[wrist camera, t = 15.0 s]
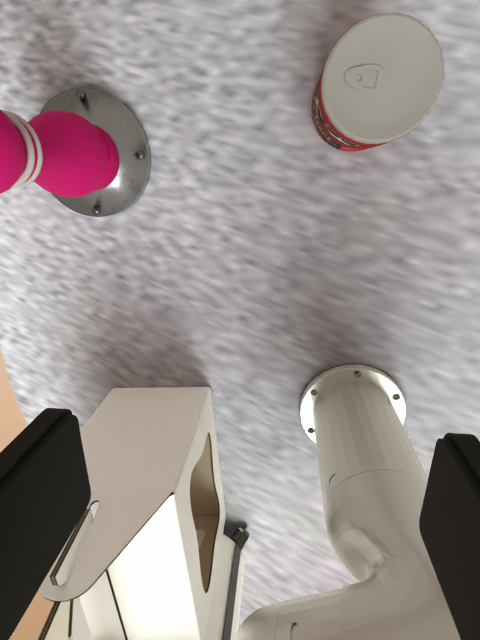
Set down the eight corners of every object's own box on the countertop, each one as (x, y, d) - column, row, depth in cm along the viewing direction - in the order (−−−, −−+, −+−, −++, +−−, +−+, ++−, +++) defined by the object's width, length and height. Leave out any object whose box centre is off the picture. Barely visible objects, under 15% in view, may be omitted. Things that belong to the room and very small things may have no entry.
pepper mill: (84, 208, 40) (-85, 235, 22) (42, 143, 38) (-183, 113, 20) (138, 172, 38) (3, 169, 20) (96, 102, 37) (-96, 26, 18)
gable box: (226, 515, 56) (177, 813, 30) (140, 513, 57) (23, 793, 31) (210, 384, 48) (124, 631, 22) (112, 385, 50) (-76, 616, 24)
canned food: (307, 69, 35) (317, 25, 25) (398, 51, 34) (448, -3, 23) (313, 158, 37) (325, 152, 27) (398, 145, 36) (443, 133, 26)
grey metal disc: (155, 216, 41) (151, 217, 40) (51, 215, 42) (43, 216, 41) (145, 88, 37) (139, 85, 35) (29, 91, 38) (19, 88, 37)
